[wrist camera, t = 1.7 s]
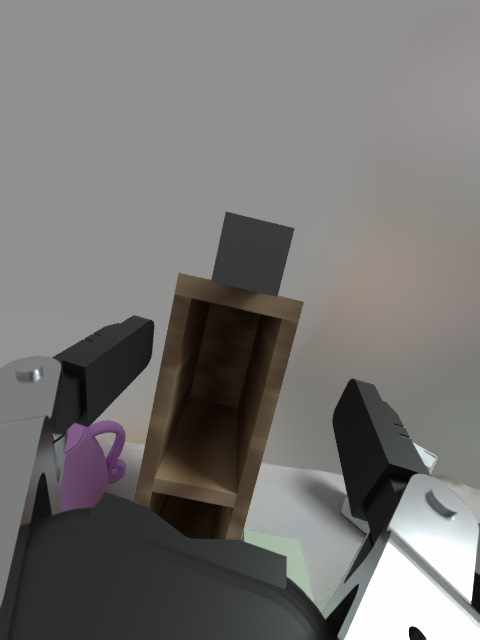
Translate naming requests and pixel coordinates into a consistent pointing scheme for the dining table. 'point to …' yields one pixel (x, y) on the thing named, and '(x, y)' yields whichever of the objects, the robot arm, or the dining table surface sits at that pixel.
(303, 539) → the dining table surface
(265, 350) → the shelf tower
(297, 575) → the green block
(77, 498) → the teapot
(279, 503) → the dining table surface
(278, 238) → the domino bar
